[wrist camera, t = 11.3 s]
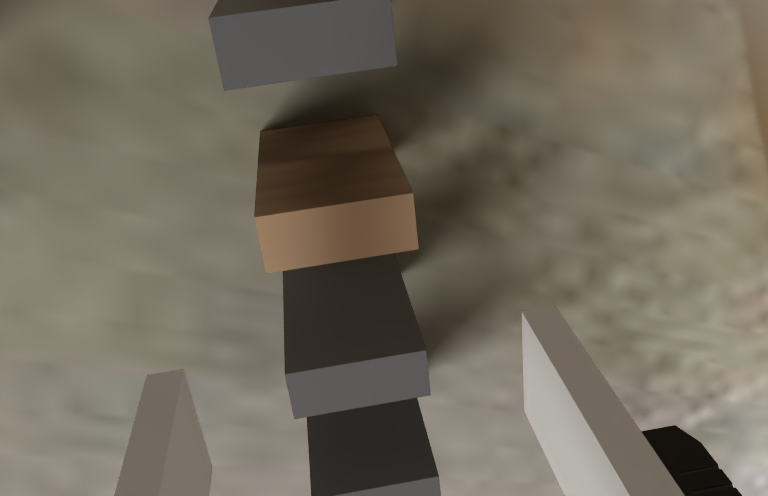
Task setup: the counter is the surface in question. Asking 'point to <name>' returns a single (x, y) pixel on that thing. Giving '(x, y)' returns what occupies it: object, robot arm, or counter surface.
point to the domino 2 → (351, 337)
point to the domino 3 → (372, 452)
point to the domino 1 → (300, 39)
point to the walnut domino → (331, 195)
